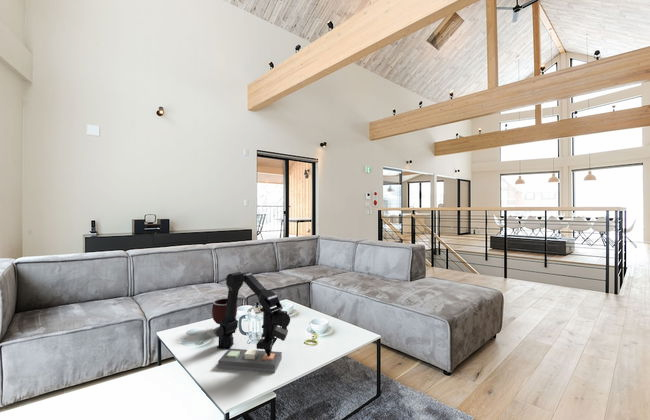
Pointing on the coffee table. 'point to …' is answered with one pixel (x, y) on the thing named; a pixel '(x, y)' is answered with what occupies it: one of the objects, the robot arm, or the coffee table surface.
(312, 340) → the key
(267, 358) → the terracotta keycap
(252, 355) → the ivory keycap
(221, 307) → the mate gourd
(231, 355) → the sage keycap
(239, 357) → the grey flat rectangular block
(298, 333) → the coffee table surface
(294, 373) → the coffee table surface
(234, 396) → the coffee table surface
